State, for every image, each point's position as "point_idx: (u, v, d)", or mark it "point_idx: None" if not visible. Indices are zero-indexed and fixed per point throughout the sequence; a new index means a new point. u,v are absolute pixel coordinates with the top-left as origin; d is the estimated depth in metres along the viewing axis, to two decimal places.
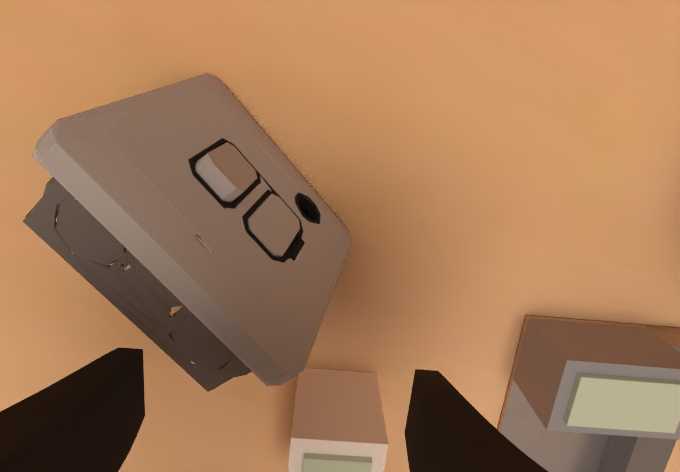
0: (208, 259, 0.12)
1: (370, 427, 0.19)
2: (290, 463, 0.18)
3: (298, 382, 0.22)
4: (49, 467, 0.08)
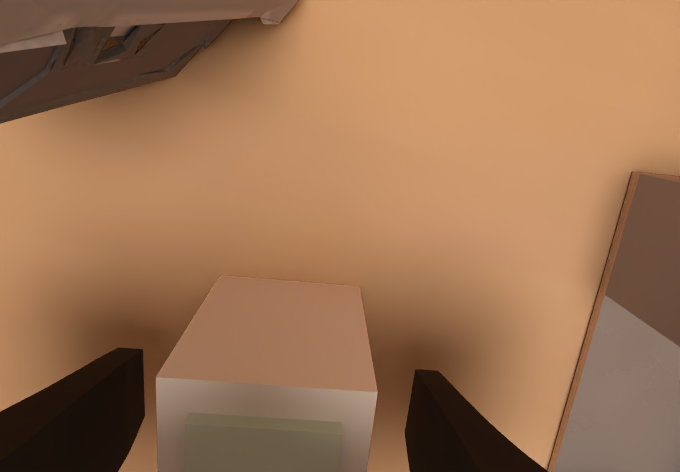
0: None
1: (340, 360, 0.09)
2: (161, 437, 0.08)
3: (211, 292, 0.12)
4: (49, 467, 0.08)
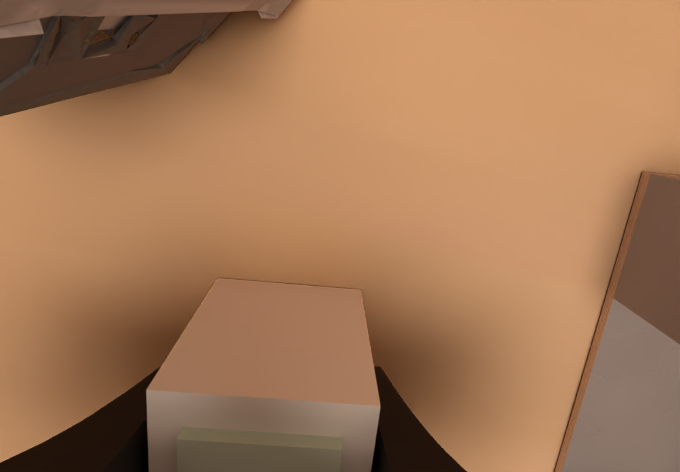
0: None
1: (341, 372, 0.09)
2: (152, 452, 0.08)
3: (207, 298, 0.11)
4: None
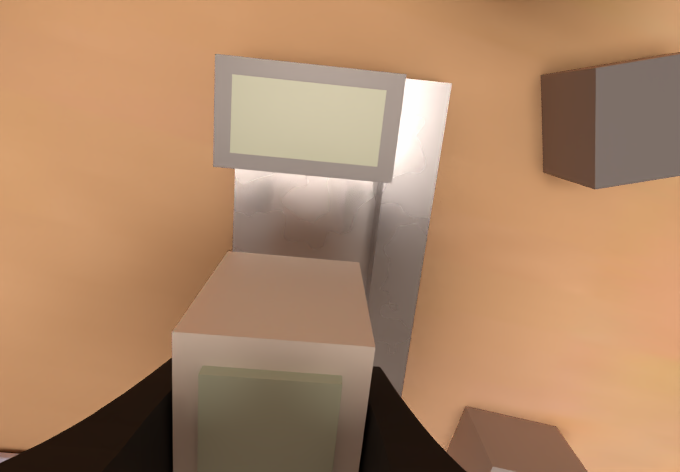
0: None
1: (340, 322, 0.10)
2: (176, 388, 0.09)
3: (219, 266, 0.12)
4: None
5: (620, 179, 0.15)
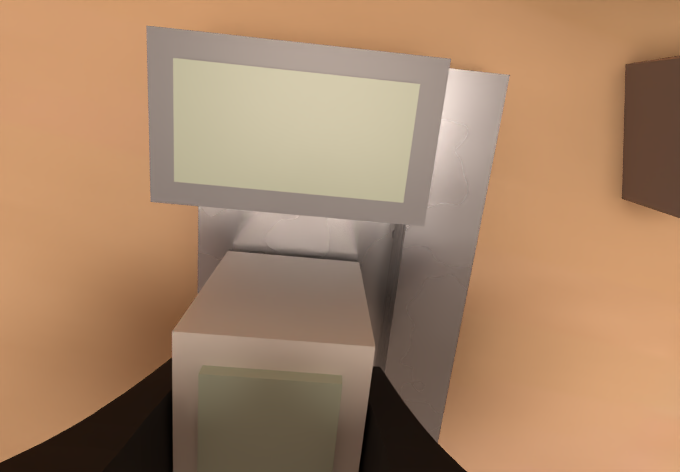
0: None
1: (340, 322, 0.10)
2: (176, 388, 0.09)
3: (219, 266, 0.12)
4: None
5: None
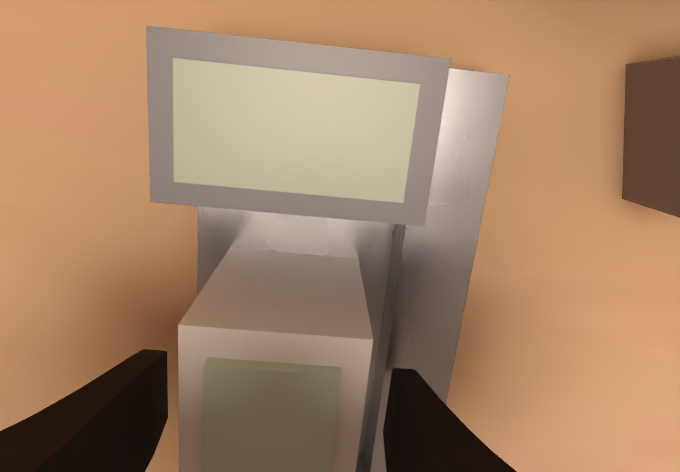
0: None
1: (340, 316, 0.10)
2: (182, 379, 0.09)
3: (222, 262, 0.13)
4: (84, 469, 0.08)
5: None
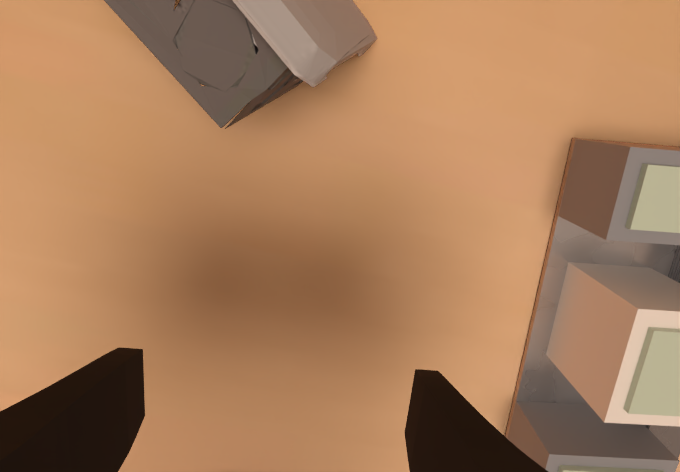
0: None
1: None
2: (630, 340, 0.17)
3: (584, 272, 0.20)
4: (49, 467, 0.08)
5: None
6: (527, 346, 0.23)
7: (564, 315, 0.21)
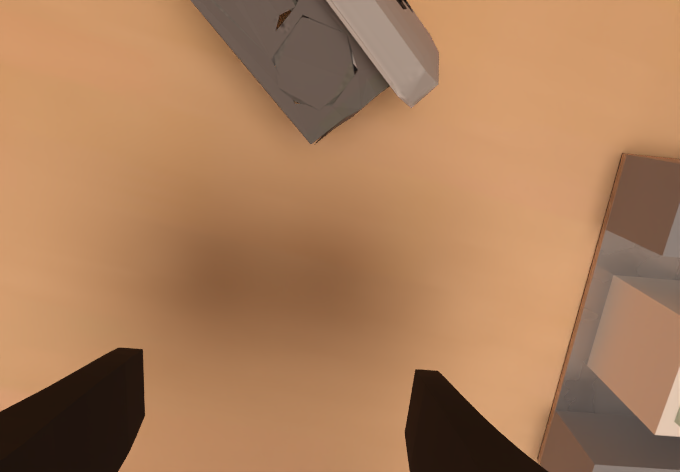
0: None
1: None
2: None
3: (632, 285, 0.20)
4: (49, 467, 0.08)
5: None
6: (568, 357, 0.23)
7: (608, 327, 0.21)
